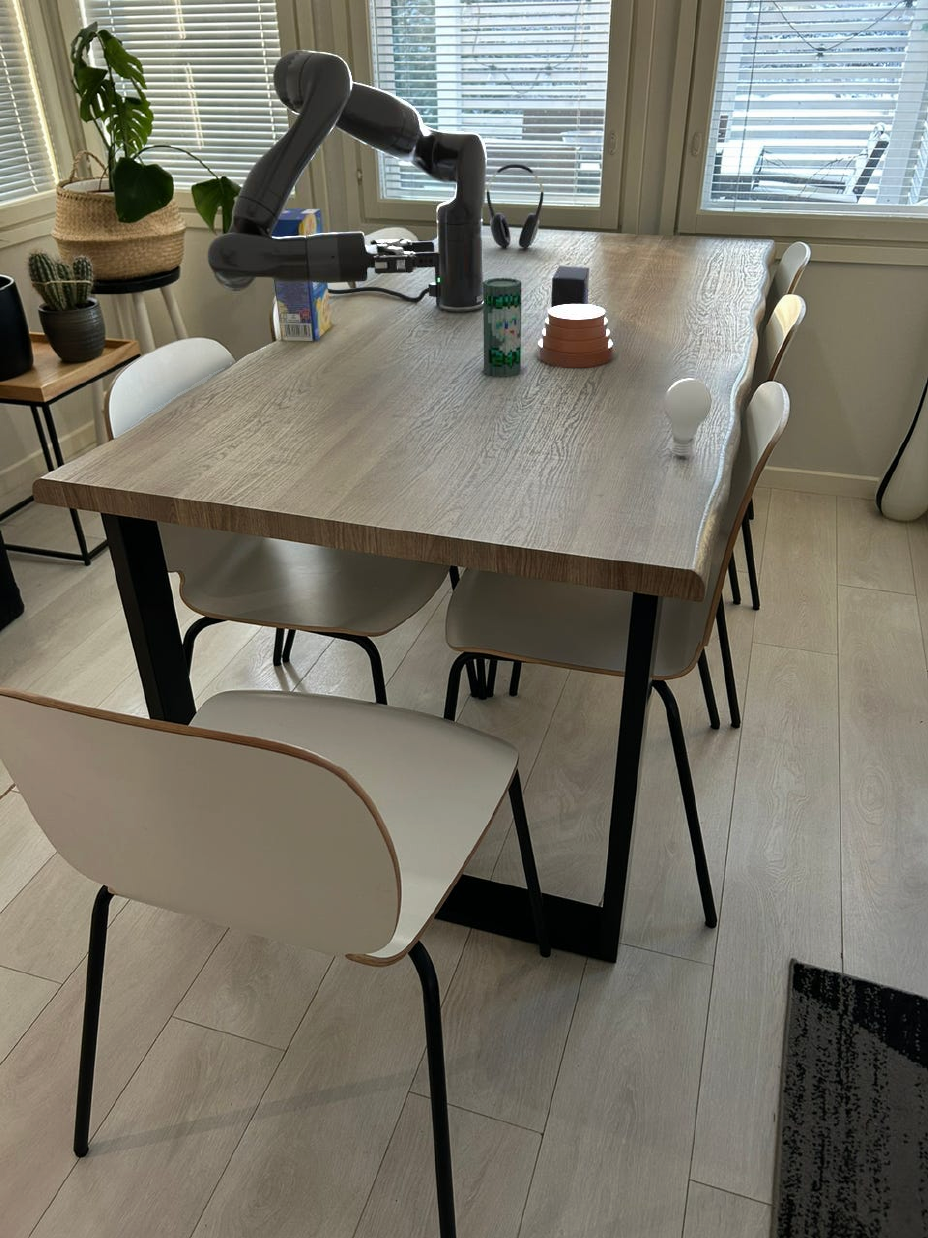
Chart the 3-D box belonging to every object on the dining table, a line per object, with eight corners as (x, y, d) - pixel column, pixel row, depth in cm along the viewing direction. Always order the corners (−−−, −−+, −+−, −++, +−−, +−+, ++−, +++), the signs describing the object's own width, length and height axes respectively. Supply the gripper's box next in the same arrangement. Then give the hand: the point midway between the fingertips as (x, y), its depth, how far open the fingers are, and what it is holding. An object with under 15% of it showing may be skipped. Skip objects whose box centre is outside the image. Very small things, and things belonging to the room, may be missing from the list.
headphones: (539, 251, 249) (541, 166, 238) (483, 249, 252) (482, 165, 241) (545, 244, 256) (546, 161, 245) (490, 243, 259) (489, 160, 248)
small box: (582, 335, 186) (585, 278, 180) (549, 334, 187) (550, 277, 181) (588, 320, 195) (590, 265, 189) (555, 319, 196) (557, 265, 190)
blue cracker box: (331, 325, 196) (320, 208, 184) (315, 341, 186) (302, 219, 175) (299, 324, 197) (286, 208, 185) (281, 340, 188) (266, 219, 176)
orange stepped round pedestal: (523, 359, 174) (524, 314, 170) (564, 341, 183) (565, 297, 179) (586, 372, 167) (588, 325, 163) (625, 353, 176) (628, 308, 172)
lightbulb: (653, 448, 138) (660, 373, 132) (697, 446, 139) (706, 371, 133) (665, 466, 133) (673, 388, 127) (710, 464, 133) (720, 386, 127)
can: (495, 378, 166) (495, 288, 158) (478, 368, 170) (477, 280, 162) (526, 372, 168) (527, 283, 160) (508, 362, 173) (509, 275, 165)
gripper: (335, 242, 148) (440, 237, 149) (333, 224, 160) (431, 220, 161) (339, 292, 152) (442, 287, 153) (337, 271, 164) (433, 267, 165)
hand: (436, 253), depth 157 cm, fingers open, 8 cm apart
